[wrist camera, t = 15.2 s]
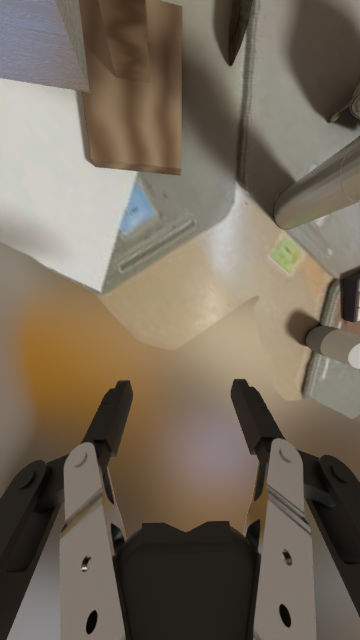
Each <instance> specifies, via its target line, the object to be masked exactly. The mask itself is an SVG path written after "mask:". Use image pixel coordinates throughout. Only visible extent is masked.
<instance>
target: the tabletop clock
mask: <svg viewBox="0 0 360 640" xmlns="http://www.w3.org/2000/svg"><path fill="white" fill-rule="evenodd" d="M348 107H349V110H350V113H351V114H352V115H353V116H354V117H356V118H357V119H359V120H360V76H359V79H358V82H357V84H356V87H355V90H354V93H353V96H352V99H351V100H350V101H349V102H348V103H347V104H346V105H345V106H344V107H343V108H342V109H341V110H336V111H335V112H334V113H333V114H332V115H331V117H330V122H334V121H336V120H337V118H338V117H339V115H340V113H341V112H342V111H344V110H345V109H346V108H348Z"/></svg>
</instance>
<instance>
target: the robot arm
mask: <svg viewBox="0 0 360 640" xmlns="http://www.w3.org/2000/svg"><path fill="white" fill-rule="evenodd" d="M358 202H360V136H359V137H358V138H356V139H355V140H354V141H352V142H351V143H350V144H348V145H347V146H345V147H344V148H343V149H341V150H340V151H339V152H337V153H336V154H334V155H333V156H332V157H330V158H329V159H328V160H326V161H325V162H323V163H322V164H321V165H319V166H318V167H317V168H315V169H314V170H313V171H311V172H310V173H308V174H307V175H306V176H304V177H303V178H302V179H300V180H299V181H297V182H296V183H295V184H293V185H292V186H291V187H289V188H288V189H286V190H285V191H284V192H282V193H281V195H280V196H279V197H278V199H277V201H276V203H275V207H274V218H275V221H276V223H277V225H278V226H279V227H280V228H282V229H286V230H288V229H292V228H295V227H297V226H300V225H302V224H305V223H307V222H310V221H312V220H315V219H317V218H320V217H322V216H325V215H327V214H330V213H332V212H335V211H338V210H340V209H343V208H345V207H348V206H350V205H353V204H355V203H358ZM231 399H232V402H233V405H234V408H235V411H236V414H237V416H238V419H239V422H240V425H241V428H242V431H243V434H244V437H245V440H246V443H247V445H248V448H249V451H250V454H251V455H257V457H258V460H259V463H258V467H257V473H256V479H255V484H254V490H253V496H252V501H251V504H250V507H249V510H248V513H247V518H246V523H245V528H244V534H243V535H242V534H241V533H240V532H239V531H237V530H236V529H234V528H233V527H231V526H230V524H229V521H210V522H206V523H204V524H202V525H200V526H198V527H196V528H194V529H193V530H191V531H189V532H183V531H181V530H179V529H176V528H174V527H172V526H170V525H168V524H165V523H142V528H141V529H139V530H138V531H137V532H135V533H134V534H132V535H131V536H130V538H128V539H126V535H125V531H124V527H123V523H122V519H121V515H120V512H119V510H118V507H117V504H116V500H115V496H114V492H113V487H112V483H111V479H110V474H109V470H108V463H109V460H110V457H116V455H117V452H118V448H119V445H120V442H121V438H122V435H123V431H124V427H125V424H126V421H127V417H128V414H129V410H130V406H131V403H132V400H133V391H132V387H131V384H130V381H129V380H123V381H118V382H117V385H116V387H115V389H110V390H109V391H108V392H107V393H106V394H105V396H104V398H103V400H102V402H101V405H100V406H99V408H98V411H97V412H96V414H95V416H94V418H93V420H92V423H91V425H90V427H89V429H88V431H87V433H86V435H85V437H84V439H83V441H82V442H81V443H80V445H79V446H77V447H76V448H75V449H74V450H73V451H72V452H71V453H69V454H68V455H66V456H63V457H61V458H58V459H56V460H53V461H51V462H48V463H45V462H44V461H42V460H38V461H34V462H32V463H30V464H29V465H27V466H26V467H25V468H23V469H22V470H21V471H20V472H19V473H18V474H17V475H16V477H15V478H14V479H13V481H12V482H11V484H10V485H9V487H8V488H7V490H6V491H5V493H4V494H3V496H2V497H1V499H0V640H6V639H7V637H8V634H9V632H10V629H11V627H12V625H13V622H14V620H15V617H16V615H17V612H18V609H19V607H20V605H21V602H22V600H23V598H24V595H25V592H26V590H27V588H28V585H29V583H30V580H31V578H32V576H33V573H34V571H35V568H36V565H37V563H38V561H39V558H40V556H41V553H42V551H43V548H44V546H45V543H46V541H47V539H48V536H49V534H50V531H51V529H52V526H53V524H54V522H55V519H56V517H57V514H58V512H59V509H60V507H61V504H62V503H64V502H65V525H64V528H63V529H62V531H61V536H60V609H61V610H60V612H61V640H317V639H316V621H315V619H316V618H315V598H314V577H313V558H312V557H313V556H312V537H311V530H310V527H309V524H308V522H307V521H306V519H305V516H304V498H305V499H306V501H307V504H308V506H309V508H310V510H311V512H312V515H313V517H314V519H315V521H316V523H317V526H318V527H319V530H320V532H321V534H322V536H323V539H324V541H325V543H326V545H327V547H328V549H329V552H330V554H331V556H332V558H333V560H334V562H335V565H336V567H337V569H338V571H339V573H340V575H341V578H342V580H343V582H344V584H345V586H346V588H347V590H348V593H349V595H350V597H351V599H352V601H353V604H354V606H355V608H356V610H357V612H358V614H359V617H360V482H359V481H358V480H357V478H356V477H355V475H354V474H353V473H352V472H351V470H350V469H349V468H348V467H347V466H346V465H345V464H343V463H342V462H341V461H339V460H338V459H336V458H335V457H332V456H330V455H323V456H322V457H321V458H318V457H315V456H313V455H310V454H307V453H304V452H302V451H299V450H297V449H296V448H295V447H294V446H293V445H291V444H290V443H289V442H288V441H286V439H285V438H284V437H283V435H282V433H281V432H280V430H279V428H278V426H277V424H276V422H275V421H274V419H273V417H272V415H271V413H270V412H269V410H268V409H267V406H266V404H265V403H264V400H263V399H262V397H261V395H260V393H259V392H258V391H257V390H256V389H255V388H254V387H249V385H248V383H247V381H246V380H245V379H234V381H233V385H232V388H231ZM284 558H285V560H286V563H285V561H284ZM87 564H88V565H89V568H88V569H87Z"/></svg>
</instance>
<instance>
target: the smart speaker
mask: <svg viewBox="0 0 360 640" xmlns="http://www.w3.org/2000/svg"><path fill="white" fill-rule="evenodd" d="M306 344H307V345H308V347H309V348H310V349H311V350H313V351H315V352H316V353H319V354H321V355H323V356H326V357H328V358H331V359H333V360H336V361H339V362H341V363H344V364H346V365H349V366H352V367H354V368H358V369H360V336H359V335H356V334H353V333H350V332H347V331H344V330H341V329H337V328H334V327H329V326H318V327H315V328H313V329H312V330H311V331H310V332H309V333H308V335H307V337H306Z"/></svg>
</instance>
